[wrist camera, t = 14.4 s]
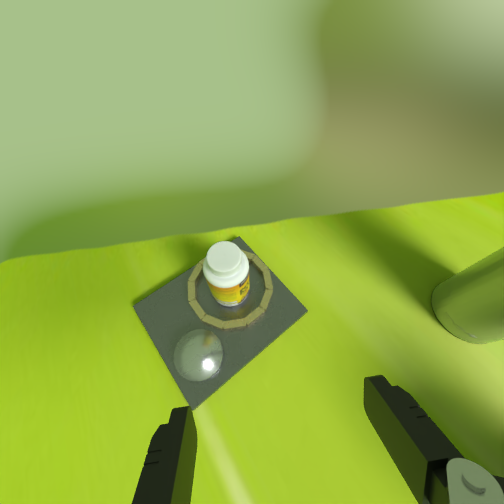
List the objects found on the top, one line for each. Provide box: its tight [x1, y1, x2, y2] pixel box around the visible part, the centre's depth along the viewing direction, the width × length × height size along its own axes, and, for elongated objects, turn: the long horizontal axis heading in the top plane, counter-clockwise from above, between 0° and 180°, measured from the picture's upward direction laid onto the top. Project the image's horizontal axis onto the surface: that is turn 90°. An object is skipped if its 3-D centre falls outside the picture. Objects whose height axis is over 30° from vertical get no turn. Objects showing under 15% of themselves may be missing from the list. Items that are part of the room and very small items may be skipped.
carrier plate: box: [133, 236, 308, 411], centre depth 35 cm, size 19×16×2 cm
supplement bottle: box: [203, 241, 249, 306], centre depth 32 cm, size 6×6×10 cm
